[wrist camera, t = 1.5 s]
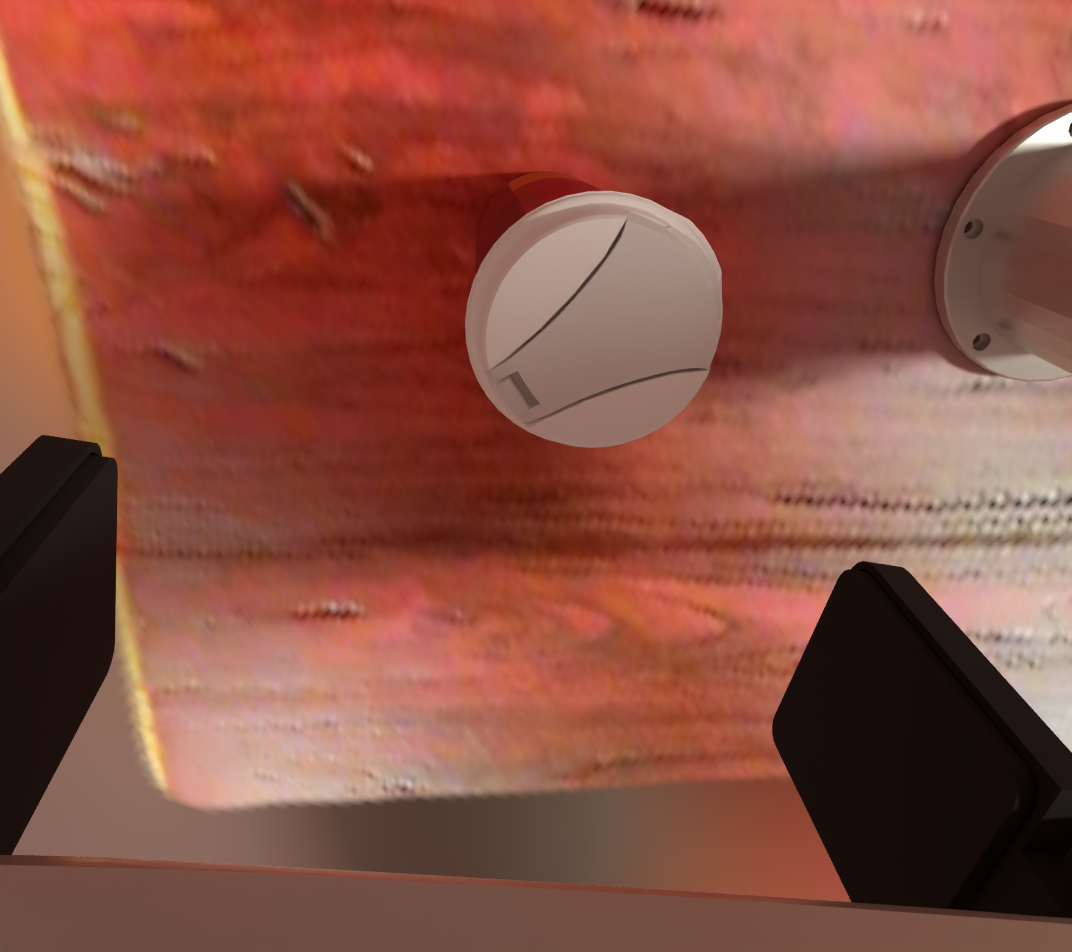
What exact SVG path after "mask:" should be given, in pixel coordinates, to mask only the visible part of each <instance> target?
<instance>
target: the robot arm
mask: <svg viewBox="0 0 1072 952" xmlns="http://www.w3.org/2000/svg"><path fill="white" fill-rule="evenodd" d="M965 226H966V227H965ZM934 286H935V297H936V306H937V309H938V312H939V315H940V319H941V322H942V325H943V327H944V329H945V331H946V332H947V334H948V336H949V337H950V339H951V341H952V342H953V344H954V345H955V346H956V347H957V348H958V349H959V350H960V351H961V352H962V353H963V354H964V355H965V356H966V357H967V358H968V359H970V360H972V361H973V362H975V363H976V364H978V365H980V366H981V367H983V368H984V369H986V370H988V371H991V372H993V373H995V374H998V375H1000V376H1002V377H1005V378H1009V379H1015V380H1021V381H1051V380H1055V379H1060V378H1064V377H1069V376H1072V104H1069V105H1067V106H1064V107H1062V108H1059V109H1057V110H1055V111H1052V112H1050V113H1047V114H1045V115H1043V116H1041V117H1040V118H1038V119H1036V120H1035V121H1033V122H1032V123H1030V124H1028V125H1027V126H1025V127H1024V128H1022V129H1020V130H1019V131H1017V132H1016V133H1015V134H1014V135H1013V136H1011V137H1010V138H1009V139H1008V140H1007V141H1006V142H1004V143H1003V144H1002V145H1001V146H1000V147H999V148H997V149H996V150H995V151H994V152H993V153H992V154H991V155H990V157H989V158H988V159H987V160H986V161H985V162H984V163H983V165H982V166H981V167H980V168H979V169H978V170H977V172H976V173H975V174H974V175H973V176H972V178H971V179H970V181H969V182H968V184H967V186H966V187H965V189H964V190H963V192H962V193H961V195H960V196H959V198H958V200H957V201H956V203H955V205H954V208H953V210H952V212H951V214H950V216H949V219H948V221H947V223H946V225H945V227H944V230H943V234H942V238H941V241H940V245H939V249H938V252H937V256H936V267H935V277H934ZM117 480H118V471H117V463H116V460H115V459H114V458H109V457H102V453H101V449H100V446H99V445H98V444H97V443H92V442H86V441H79V440H73V439H66V438H60V437H53V436H46V435H42V436H40V437H39V438H37V439H36V440H35V441H34V442H33V443H32V444H31V445H30V446H29V447H28V448H27V449H26V450H25V451H24V452H23V453H22V454H21V455H20V456H19V457H18V458H17V459H16V460H15V461H14V462H12V464H10V465H9V466H8V467H7V468H6V469H5V470H4V471H3V472H2V473H1V474H0V952H1072V753H1071V751H1070V750H1069V749H1068V748H1067V747H1066V746H1065V745H1064V744H1063V743H1062V741H1061V740H1060V739H1059V738H1058V737H1057V736H1056V735H1055V734H1054V733H1053V731H1052V730H1051V729H1050V728H1049V727H1048V726H1047V725H1046V724H1045V723H1044V721H1043V720H1042V719H1041V718H1040V717H1039V716H1038V715H1037V714H1036V713H1035V712H1034V710H1033V709H1032V708H1031V707H1030V706H1029V705H1028V704H1027V703H1026V702H1025V700H1024V699H1023V698H1022V697H1021V696H1020V695H1019V694H1018V693H1017V692H1016V690H1015V689H1014V688H1013V687H1012V686H1011V685H1010V684H1009V683H1008V682H1007V680H1006V679H1005V678H1004V677H1003V676H1002V675H1001V674H1000V673H999V672H998V670H997V669H996V668H995V667H994V666H993V665H992V664H991V663H990V662H989V660H988V659H987V658H986V657H985V656H984V655H983V654H982V653H981V652H980V650H979V649H978V648H977V647H976V646H975V645H974V644H973V643H972V642H971V640H970V639H969V638H968V637H967V636H966V635H965V634H964V633H963V632H962V630H961V629H960V628H959V627H958V626H957V625H956V624H955V623H954V622H953V620H952V619H951V618H950V617H949V616H948V615H947V614H946V613H945V612H944V610H943V609H942V608H941V607H940V606H939V605H938V604H937V603H936V602H935V600H934V599H933V598H932V597H931V596H930V595H929V594H928V593H927V592H926V590H925V589H924V588H923V587H922V586H921V585H920V584H919V583H918V582H917V580H916V579H915V578H914V577H913V576H912V575H911V574H910V573H909V572H908V571H907V570H906V569H904V568H903V567H898V566H891V565H885V564H878V563H872V562H865V561H862V562H859V563H857V564H856V565H855V566H854V567H852V569H851V570H850V569H849V570H846V571H844V572H843V573H842V574H841V575H840V577H839V578H838V580H837V582H836V584H835V586H834V589H833V591H832V593H831V595H830V597H829V599H828V602H827V604H826V606H825V608H824V610H823V612H822V615H821V617H820V619H819V621H818V623H817V625H816V627H815V630H814V632H813V634H812V636H811V638H810V640H809V643H808V645H807V647H806V649H805V651H804V653H803V655H802V658H801V660H800V662H799V664H798V666H797V668H796V671H795V673H794V675H793V677H792V679H791V681H790V684H789V686H788V688H787V690H786V692H785V694H784V696H783V699H782V701H781V703H780V705H779V707H778V709H777V712H776V714H775V717H774V719H773V726H772V733H773V740H774V742H775V745H776V747H777V749H778V751H779V753H780V756H781V758H782V760H783V762H784V764H785V766H786V768H787V770H788V772H789V774H790V776H791V778H792V780H793V782H794V784H795V786H796V788H797V791H798V793H799V795H800V796H801V799H802V801H803V803H804V805H805V807H806V809H807V811H808V813H809V815H810V817H811V819H812V821H813V823H814V826H815V828H816V830H817V832H818V834H819V836H820V838H821V840H822V842H823V844H824V846H825V848H826V850H827V852H828V854H829V857H830V858H831V861H832V863H833V865H834V867H835V869H836V871H837V873H838V875H839V877H840V879H841V881H842V883H843V885H844V887H845V889H846V891H847V893H848V896H849V898H850V900H851V902H839V901H825V900H811V899H796V898H783V897H767V896H753V895H752V896H751V895H737V894H722V893H706V892H690V891H674V890H659V889H645V888H628V887H613V886H596V885H581V884H566V883H550V882H534V881H517V880H502V879H485V878H468V877H449V876H433V875H416V874H397V873H381V872H365V871H346V870H329V869H312V868H295V867H278V866H261V865H243V864H226V863H225V864H224V863H207V862H206V863H205V862H185V861H168V860H148V859H128V858H109V857H74V856H34V855H12V853H13V851H14V849H15V847H16V845H17V843H18V842H19V839H20V838H21V836H22V834H23V832H24V830H25V828H26V826H27V825H28V822H29V821H30V819H31V817H32V815H33V813H34V811H35V809H36V807H37V806H38V804H39V802H40V800H41V798H42V796H43V794H44V792H45V790H46V789H47V787H48V785H49V783H50V781H51V779H52V777H53V775H54V773H55V772H56V770H57V768H58V766H59V764H60V762H61V760H62V758H63V757H64V755H65V753H66V751H67V749H68V747H69V745H70V743H71V741H72V739H73V738H74V736H75V734H76V732H77V730H78V728H79V726H80V724H81V722H82V721H83V719H84V717H85V715H86V713H87V711H88V709H89V707H90V705H91V704H92V702H93V700H94V698H95V696H96V694H97V692H98V690H99V688H100V687H101V685H102V683H103V681H104V679H105V677H106V675H107V673H108V670H109V668H110V665H111V662H112V658H113V653H114V646H115V602H116V541H117Z"/></svg>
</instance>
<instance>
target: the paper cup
mask: <svg viewBox="0 0 1072 952" xmlns="http://www.w3.org/2000/svg"><path fill="white" fill-rule="evenodd" d="M722 316H723V305H722V270H721V268H720V265H719V263H718V260H717V258H716V255H715V253H714V251H713V249H712V248H711V246H710V244H709V243H708V241H707V240H706V238H705V236H704V235H703V234H702V233H701V231H700V230H699V229H698V228H697V227H696V226H695V225H694V224H693V223H692V221H691V220H689V219H687V218H685V217H683V216H681V215H679V214H677V213H675V212H673V211H671V210H669V209H667V208H665V207H663V206H661V205H659V204H657V203H655V202H654V201H652V200H649V199H646V198H643V197H640V196H637V195H634V194H630V193H623V192H616V191H602V190H600V189H598V188H596V187H594V186H591V185H589V184H587V183H585V182H582V181H580V180H577V179H575V178H572V177H569V176H566V175H563V174H559V173H553V172H535V173H530V174H526V175H523V176H520V177H518V178H516V179H514V180H512V181H510V182H509V183H507V184H506V185H504V186H503V187H502V188H501V189H500V190H499V191H498V192H497V193H496V194H495V195H494V196H493V197H492V198H491V200H490V201H489V203H488V204H487V206H486V208H485V210H484V212H483V215H482V217H481V220H480V224H479V228H478V234H477V244H476V276H475V278H474V280H473V283H472V287H471V291H470V294H469V298H468V301H467V310H466V318H465V331H466V345H467V349H468V354H469V359H470V363H471V365H472V368H473V370H474V373H475V375H476V378H477V380H478V382H479V384H480V385H481V387H482V389H483V390H484V392H485V394H486V395H487V397H488V398H489V399H490V400H491V402H492V403H493V404H494V405H495V406H496V408H497V409H498V410H499V411H500V412H501V413H502V414H504V415H505V416H506V417H507V418H508V419H510V420H511V421H512V422H513V423H515V424H516V425H518V426H519V427H521V428H523V429H524V430H526V431H528V432H529V433H532V434H534V435H537V436H539V437H542V438H544V439H546V440H551V441H555V442H558V443H562V444H566V445H570V446H575V447H587V448H598V447H610V446H615V445H620V444H625V443H628V442H631V441H634V440H637V439H640V438H642V437H644V436H646V435H648V434H650V433H652V432H654V431H656V430H658V429H659V428H661V427H662V426H664V425H665V424H667V423H668V422H669V421H671V420H672V419H673V418H675V417H676V416H677V415H678V414H679V413H680V412H681V411H682V410H683V409H684V408H685V407H686V406H687V405H688V404H689V403H690V401H691V400H692V399H693V398H694V396H695V395H696V394H697V393H698V391H699V389H700V388H701V386H702V384H703V383H704V381H705V380H706V378H707V376H708V373H709V371H710V369H711V367H710V365H711V362H712V359H713V357H714V355H715V352H716V349H717V345H718V341H719V338H720V334H721V327H722Z"/></svg>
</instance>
